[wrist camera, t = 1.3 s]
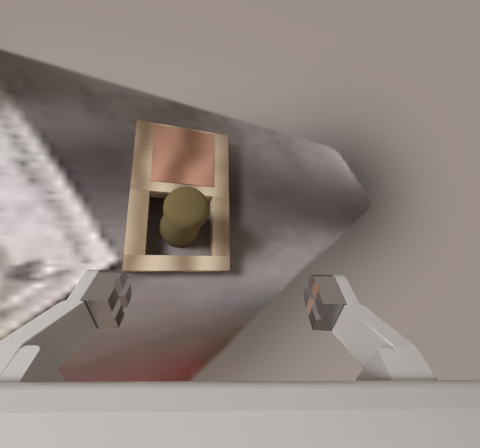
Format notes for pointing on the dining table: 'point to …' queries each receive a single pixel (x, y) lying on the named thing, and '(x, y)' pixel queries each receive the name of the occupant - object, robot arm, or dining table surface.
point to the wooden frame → (172, 177)
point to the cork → (183, 216)
